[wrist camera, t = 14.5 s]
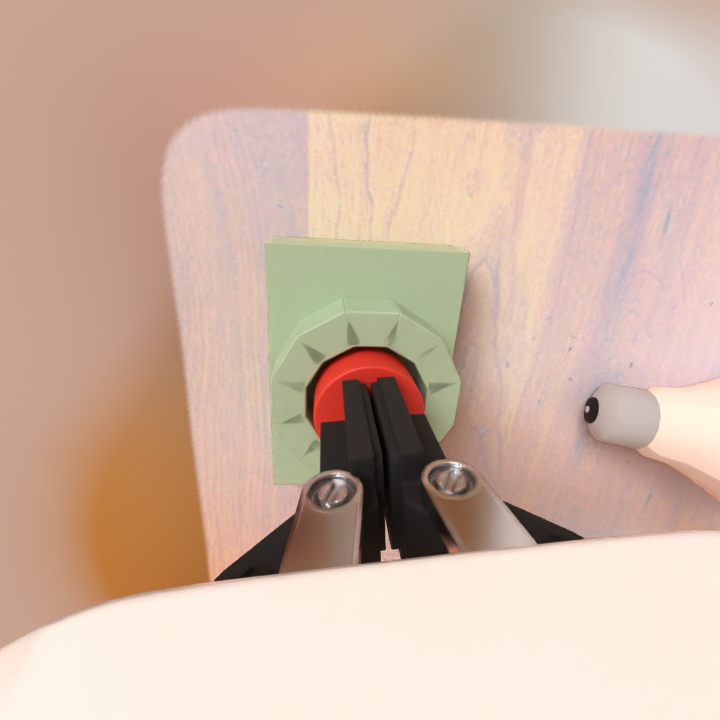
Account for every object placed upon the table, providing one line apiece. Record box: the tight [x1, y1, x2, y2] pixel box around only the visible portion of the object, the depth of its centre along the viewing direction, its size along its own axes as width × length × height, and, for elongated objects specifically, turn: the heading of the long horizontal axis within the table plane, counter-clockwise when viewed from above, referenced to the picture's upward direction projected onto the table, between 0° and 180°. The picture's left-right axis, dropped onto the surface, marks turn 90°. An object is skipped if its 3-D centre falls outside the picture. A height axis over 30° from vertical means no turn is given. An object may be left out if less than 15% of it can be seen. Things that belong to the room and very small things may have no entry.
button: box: [313, 347, 424, 438], centre depth 13 cm, size 4×4×2 cm
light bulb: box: [584, 378, 720, 501], centre depth 17 cm, size 7×7×11 cm
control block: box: [265, 236, 470, 485], centre depth 15 cm, size 10×7×4 cm
